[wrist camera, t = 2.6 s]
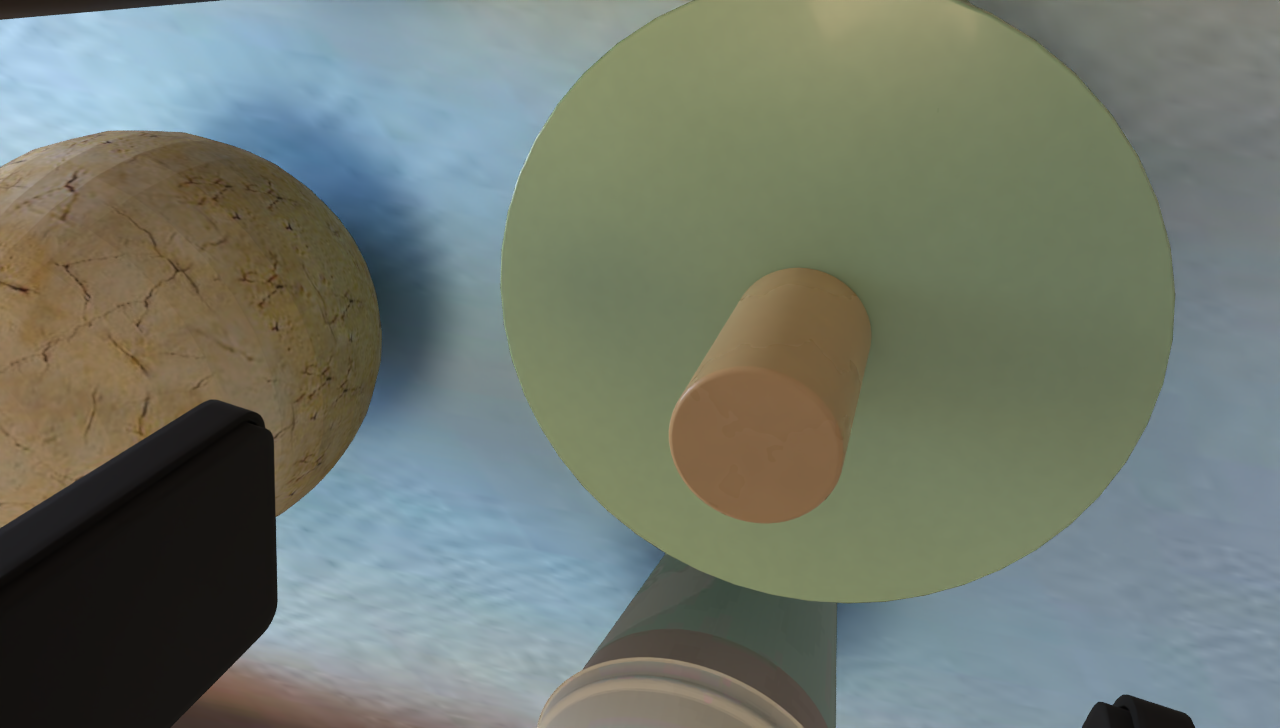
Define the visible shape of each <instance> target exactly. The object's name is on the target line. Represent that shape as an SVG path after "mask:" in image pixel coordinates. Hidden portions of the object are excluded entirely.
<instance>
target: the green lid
mask: <svg viewBox="0 0 1280 728" xmlns="http://www.w3.org/2000/svg"><path fill="white" fill-rule="evenodd" d="M500 289H501V299H502V309H503V319H504V327H505V331H506V336H507V340H508V344H509V349H510V353H511V358H512V362H513V364H514V367H515V370H516V373H517V376H518V378H519V381H520V384H521V387H522V390H523V393H524V395H525V397H526V399H527V401H528V403H529V405H530V407H531V409H532V411H533V413H534V415H535V418H536V420H537V422H538V424H539V426H540V427H541V429H542V431H543V432H544V434H545V435H546V437H547V438H548V440H549V442H550V443H551V445H552V446H553V448H554V449H555V451H556V453H557V454H558V456H559V457H560V458H561V460H562V461H563V462H564V463H565V465H566V466H567V467H568V468H569V470H570V471H571V472H572V473H573V475H574V476H575V477H576V478H577V480H578V481H579V482H580V483H581V485H582V486H583V487H584V488H585V489H586V490H587V491H588V492H589V493H590V494H591V495H592V496H593V497H594V498H595V499H596V500H597V501H598V502H599V503H600V504H601V505H602V506H603V507H604V508H605V509H606V510H607V511H608V512H610V513H611V514H612V515H613V516H615V517H616V518H617V519H618V520H620V521H621V522H622V523H623V524H624V525H626V526H627V527H628V528H629V529H631V530H632V531H633V532H634V533H636V534H637V535H639V536H640V537H642V538H643V539H645V540H646V541H648V542H649V543H651V544H652V545H654V546H655V547H657V548H659V549H660V550H662V551H663V552H665V553H666V554H668V555H670V556H672V557H674V558H676V559H678V560H680V561H682V562H683V563H685V564H687V565H689V566H691V567H693V568H695V569H697V570H699V571H701V572H704V573H706V574H709V575H712V576H714V577H717V578H719V579H722V580H724V581H727V582H730V583H732V584H735V585H738V586H742V587H745V588H749V589H753V590H756V591H760V592H764V593H767V594H771V595H776V596H782V597H788V598H794V599H800V600H806V601H818V602H834V603H865V602H886V601H893V600H899V599H905V598H912V597H918V596H924V595H928V594H932V593H936V592H939V591H943V590H947V589H950V588H954V587H957V586H961V585H964V584H967V583H969V582H972V581H974V580H977V579H979V578H982V577H984V576H986V575H989V574H991V573H994V572H996V571H999V570H1001V569H1003V568H1005V567H1006V566H1008V565H1010V564H1012V563H1014V562H1015V561H1017V560H1019V559H1021V558H1023V557H1024V556H1026V555H1028V554H1030V553H1031V552H1033V551H1035V550H1037V549H1038V548H1039V547H1041V546H1042V545H1044V544H1045V543H1046V542H1048V541H1049V540H1050V539H1052V538H1053V537H1054V536H1056V535H1057V534H1058V533H1060V532H1061V531H1062V530H1064V529H1065V528H1066V527H1068V526H1069V525H1070V524H1071V523H1072V522H1073V521H1074V520H1075V519H1077V518H1078V517H1079V516H1080V515H1081V514H1082V513H1083V512H1084V511H1085V510H1086V509H1087V508H1088V507H1089V506H1090V505H1091V504H1092V503H1093V502H1094V501H1095V500H1096V499H1097V498H1098V497H1099V496H1100V495H1101V494H1102V492H1103V491H1104V490H1105V489H1106V487H1107V486H1108V485H1109V483H1110V482H1111V481H1112V480H1113V478H1114V477H1115V476H1116V474H1117V473H1118V472H1119V471H1120V469H1121V468H1122V467H1123V465H1124V464H1125V463H1126V461H1127V460H1128V458H1129V456H1130V454H1131V453H1132V451H1133V449H1134V447H1135V446H1136V444H1137V442H1138V440H1139V439H1140V437H1141V435H1142V433H1143V431H1144V430H1145V428H1146V426H1147V424H1148V422H1149V419H1150V417H1151V414H1152V411H1153V409H1154V406H1155V404H1156V401H1157V398H1158V396H1159V393H1160V391H1161V388H1162V385H1163V382H1164V378H1165V373H1166V368H1167V364H1168V359H1169V355H1170V350H1171V345H1172V341H1173V325H1174V308H1175V287H1174V277H1173V267H1172V257H1171V247H1170V244H1169V240H1168V236H1167V232H1166V229H1165V225H1164V221H1163V217H1162V214H1161V210H1160V206H1159V202H1158V200H1157V197H1156V195H1155V193H1154V191H1153V188H1152V186H1151V184H1150V182H1149V179H1148V177H1147V175H1146V173H1145V170H1144V168H1143V166H1142V164H1141V161H1140V159H1139V157H1138V155H1137V153H1136V152H1135V150H1134V149H1133V147H1132V146H1131V144H1130V143H1129V141H1128V140H1127V138H1126V136H1125V135H1124V133H1123V132H1122V130H1121V129H1120V127H1119V126H1118V124H1117V123H1116V121H1115V119H1114V118H1113V116H1112V115H1111V113H1110V112H1109V111H1108V110H1107V109H1106V107H1105V106H1104V105H1103V104H1102V103H1101V102H1100V101H1099V100H1098V98H1097V97H1096V96H1095V95H1094V94H1093V93H1092V92H1091V91H1090V89H1089V88H1088V87H1087V86H1086V85H1085V84H1084V83H1083V82H1082V80H1081V79H1080V78H1079V77H1078V76H1077V75H1076V74H1075V73H1074V72H1073V71H1072V70H1071V69H1070V68H1068V67H1067V66H1066V65H1065V64H1064V63H1062V62H1061V61H1060V60H1059V59H1058V58H1056V57H1055V56H1054V55H1053V54H1052V53H1050V52H1049V51H1048V50H1047V49H1046V48H1044V47H1043V46H1042V45H1041V44H1040V43H1038V42H1037V41H1036V40H1035V39H1033V38H1031V37H1030V36H1028V35H1026V34H1025V33H1023V32H1021V31H1020V30H1018V29H1016V28H1015V27H1013V26H1011V25H1010V24H1008V23H1007V22H1005V21H1003V20H1002V19H1000V18H998V17H997V16H995V15H993V14H992V13H990V12H987V11H985V10H982V9H980V8H978V7H975V6H973V5H971V4H968V3H966V2H964V1H961V0H693V1H691V2H689V3H687V4H685V5H682V6H680V7H678V8H676V9H674V10H672V11H670V12H668V13H666V14H664V15H661V16H659V17H657V18H655V19H653V20H652V21H650V22H649V23H647V24H646V25H644V26H643V27H641V28H640V29H638V30H637V31H635V32H634V33H632V34H631V35H629V36H628V37H626V38H625V39H623V40H622V41H620V42H619V43H617V44H616V45H615V46H614V47H613V48H612V49H610V50H609V51H608V52H607V53H606V54H605V55H604V56H603V57H601V58H600V59H599V60H598V61H597V62H596V63H595V64H594V65H592V66H591V67H590V68H589V69H588V70H587V71H586V72H584V74H583V75H582V76H581V77H580V78H579V80H578V81H577V82H576V83H575V84H574V85H573V87H572V88H571V89H570V90H569V91H568V92H567V94H566V95H565V96H564V97H563V98H562V100H561V101H560V102H559V103H558V104H557V106H556V107H555V109H554V110H553V112H552V114H551V115H550V117H549V118H548V120H547V121H546V123H545V125H544V126H543V128H542V129H541V131H540V132H539V134H538V136H537V137H536V139H535V141H534V143H533V145H532V147H531V150H530V152H529V154H528V156H527V158H526V161H525V163H524V165H523V167H522V169H521V171H520V174H519V176H518V180H517V183H516V186H515V189H514V193H513V196H512V199H511V203H510V206H509V209H508V213H507V219H506V226H505V232H504V238H503V244H502V251H501V285H500Z"/></svg>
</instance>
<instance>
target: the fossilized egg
mask: <svg viewBox="0 0 1280 728" xmlns="http://www.w3.org/2000/svg"><path fill="white" fill-rule="evenodd" d="M381 346H382V330H381V322H380V315H379V308H378V302H377V296H376V292H375V288H374V285H373V282H372V279H371V276H370V273H369V270H368V267H367V264H366V262H365V260H364V258H363V256H362V254H361V252H360V250H359V249H358V247H357V245H356V243H355V241H354V239H353V238H352V236H351V235H350V234H349V232H348V231H347V229H346V228H345V227H344V225H343V224H342V223H341V221H340V220H339V219H338V217H337V216H336V215H335V214H334V213H333V212H332V211H331V210H330V209H329V208H328V207H327V206H326V205H325V204H324V203H323V202H322V201H321V200H320V199H319V198H318V197H317V196H316V195H315V194H314V193H313V192H312V191H311V190H310V189H309V188H307V187H306V186H305V185H304V184H302V183H301V182H299V181H298V180H297V179H295V178H294V177H293V176H291V175H290V174H289V173H287V172H286V171H284V170H283V169H281V168H280V167H279V166H277V165H275V164H273V163H271V162H269V161H267V160H265V159H263V158H261V157H259V156H257V155H255V154H253V153H251V152H248V151H246V150H243V149H240V148H238V147H235V146H232V145H228V144H225V143H221V142H218V141H214V140H211V139H207V138H203V137H200V136H196V135H192V134H188V133H183V132H162V131H106V132H101V133H97V134H92V135H88V136H83V137H79V138H75V139H70V140H67V141H63V142H59V143H55V144H52V145H48V146H45V147H41V148H38V149H34V150H32V151H30V152H28V153H26V154H24V155H22V156H20V157H18V158H16V159H14V160H12V161H10V162H9V163H7V164H5V165H3V166H2V167H0V528H1V527H3V526H4V525H6V524H8V523H9V522H11V521H12V520H14V519H16V518H17V517H19V516H20V515H22V514H24V513H25V512H27V511H28V510H30V509H32V508H33V507H35V506H37V505H38V504H40V503H41V502H43V501H45V500H46V499H48V498H49V497H51V496H53V495H54V494H56V493H57V492H59V491H61V490H62V489H64V488H66V487H67V486H69V485H70V484H72V483H74V482H75V481H77V480H78V479H80V478H82V477H83V476H85V475H86V474H88V473H90V472H91V471H93V470H95V469H96V468H98V467H99V466H101V465H103V464H104V463H106V462H107V461H109V460H111V459H112V458H114V457H115V456H117V455H119V454H120V453H122V452H124V451H125V450H127V449H128V448H130V447H132V446H133V445H135V444H136V443H138V442H140V441H141V440H143V439H144V438H146V437H148V436H149V435H151V434H153V433H154V432H156V431H157V430H159V429H161V428H162V427H164V426H165V425H167V424H169V423H170V422H172V421H173V420H175V419H177V418H178V417H180V416H182V415H183V414H185V413H186V412H188V411H190V410H191V409H193V408H194V407H196V406H198V405H199V404H201V403H203V402H205V401H207V400H210V399H212V400H220V401H223V402H226V403H229V404H232V405H235V406H238V407H242V408H245V409H248V410H251V411H254V412H256V413H258V414H260V415H261V416H262V418H263V420H264V423H265V428H266V429H268V430H270V431H271V433H272V435H273V439H274V465H275V511H276V517H277V516H278V515H280V514H282V513H283V512H285V511H286V510H287V509H288V508H290V507H291V506H292V505H294V504H295V503H296V502H298V501H299V500H300V499H301V498H303V497H304V496H305V495H306V494H307V493H308V492H310V491H311V490H312V489H313V488H314V487H315V486H316V485H317V484H318V483H319V482H320V481H321V480H322V479H323V478H324V477H325V476H326V475H327V474H328V472H329V471H330V470H331V469H332V468H333V467H334V466H335V464H336V463H337V462H338V460H339V459H340V458H341V456H342V455H343V454H344V452H345V451H346V449H347V448H348V446H349V445H350V443H351V442H352V440H353V439H354V437H355V435H356V433H357V431H358V429H359V428H360V426H361V424H362V422H363V420H364V418H365V416H366V413H367V410H368V407H369V404H370V401H371V398H372V394H373V390H374V387H375V383H376V379H377V375H378V371H379V366H380V362H381Z"/></svg>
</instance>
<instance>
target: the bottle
mask: <svg viewBox="0 0 1280 728" xmlns="http://www.w3.org/2000/svg"><path fill="white" fill-rule="evenodd" d="M208 1H219V0H0V20H2V19H13V18H25V17H36V16H48V15H59V14H71V13H82V12H93V11H105V10H116V9H128V8H139V7H151V6H162V5H173V4H185V3H196V2H208Z"/></svg>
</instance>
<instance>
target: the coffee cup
mask: <svg viewBox="0 0 1280 728" xmlns="http://www.w3.org/2000/svg"><path fill="white" fill-rule="evenodd" d="M836 650H837V603H834V602H818V601H806V600H800V599H794V598H788V597H782V596H776V595H771V594H767V593H764V592H760V591H756V590H753V589H749V588H745V587H742V586H738V585H735V584H732V583H730V582H727V581H724V580H722V579H719V578H717V577H714V576H712V575H709V574H706V573H704V572H701V571H699V570H697V569H695V568H693V567H691V566H689V565H687V564H685V563H683V562H682V561H680V560H678V559H676V558H674V557H672V556H670V555H668V554H665V555H664V556H663V558H662V559H661V561H660V562H659V563H658V565H657V566H656V568H655V569H654V570H653V572H652V573H651V574H650V576H649V577H648V579H647V580H646V581H645V583H644V584H643V586H642V587H641V588H640V590H639V591H638V593H637V594H636V595H635V597H634V598H633V600H632V601H631V602H630V604H629V605H628V607H627V608H626V609H625V611H624V612H623V614H622V615H621V616H620V618H619V619H618V621H617V622H616V623H615V625H614V626H613V628H612V629H611V630H610V632H609V633H608V635H607V636H606V637H605V639H604V640H603V642H602V643H601V644H600V646H599V647H598V649H597V650H596V651H595V653H594V654H593V656H592V657H591V658H590V660H589V661H588V663H587V664H586V665H585V667H584V668H583V670H582V671H580V672H578V673H576V674H575V675H573V676H572V677H570V678H569V679H567V680H566V681H565V682H564V683H562V684H561V685H560V686H559V687H558V688H557V689H556V690H555V691H554V693H553V694H552V695H551V696H550V698H549V699H548V701H547V702H546V704H545V706H544V708H543V710H542V712H541V715H540V718H539V721H538V725H537V728H836Z"/></svg>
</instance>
